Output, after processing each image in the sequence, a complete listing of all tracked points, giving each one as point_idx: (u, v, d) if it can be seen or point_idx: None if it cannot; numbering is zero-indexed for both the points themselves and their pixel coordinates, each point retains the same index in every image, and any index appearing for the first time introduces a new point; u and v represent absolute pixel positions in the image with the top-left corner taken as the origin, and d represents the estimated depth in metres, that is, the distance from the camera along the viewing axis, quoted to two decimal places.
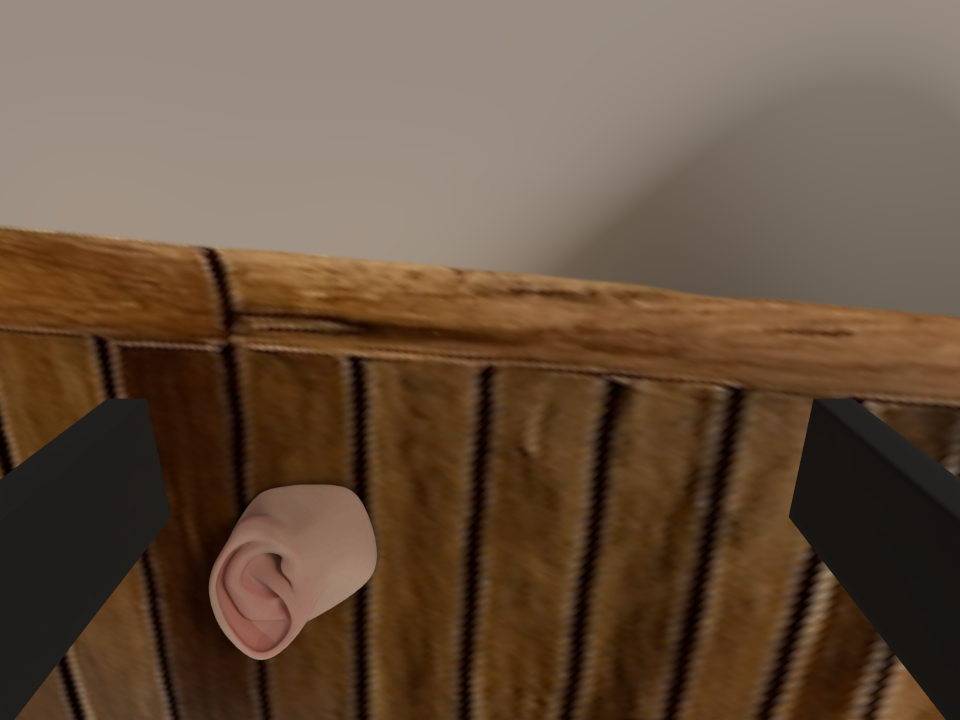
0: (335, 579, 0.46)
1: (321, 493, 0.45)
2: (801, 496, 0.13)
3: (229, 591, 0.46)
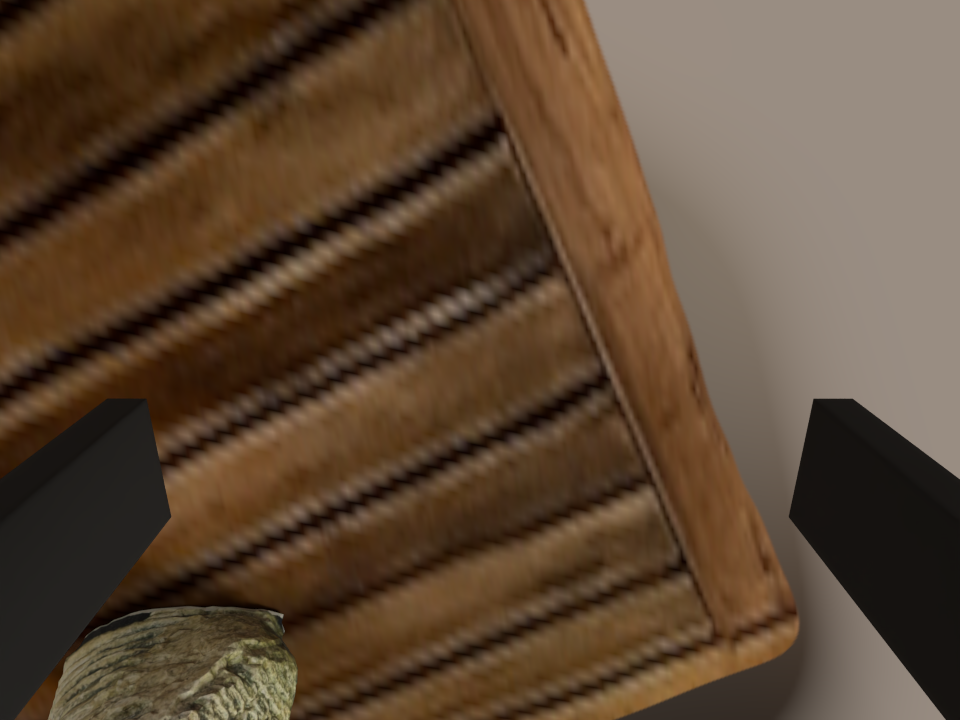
0: None
1: None
2: (801, 496, 0.13)
3: None
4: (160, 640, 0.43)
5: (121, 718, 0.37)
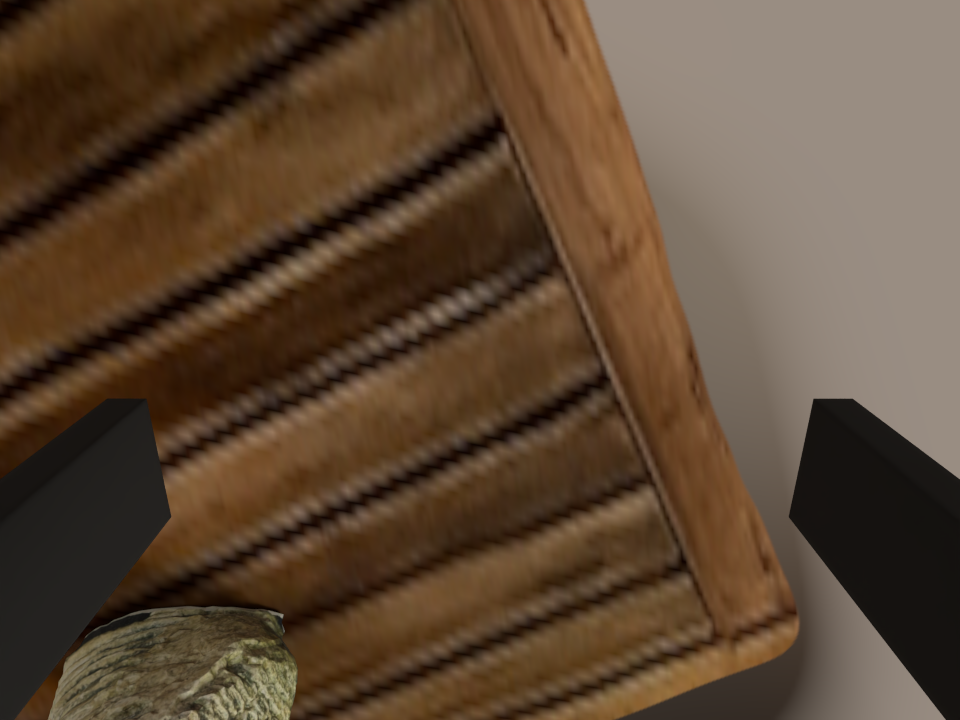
0: None
1: None
2: (801, 496, 0.13)
3: None
4: (160, 640, 0.43)
5: (121, 718, 0.37)
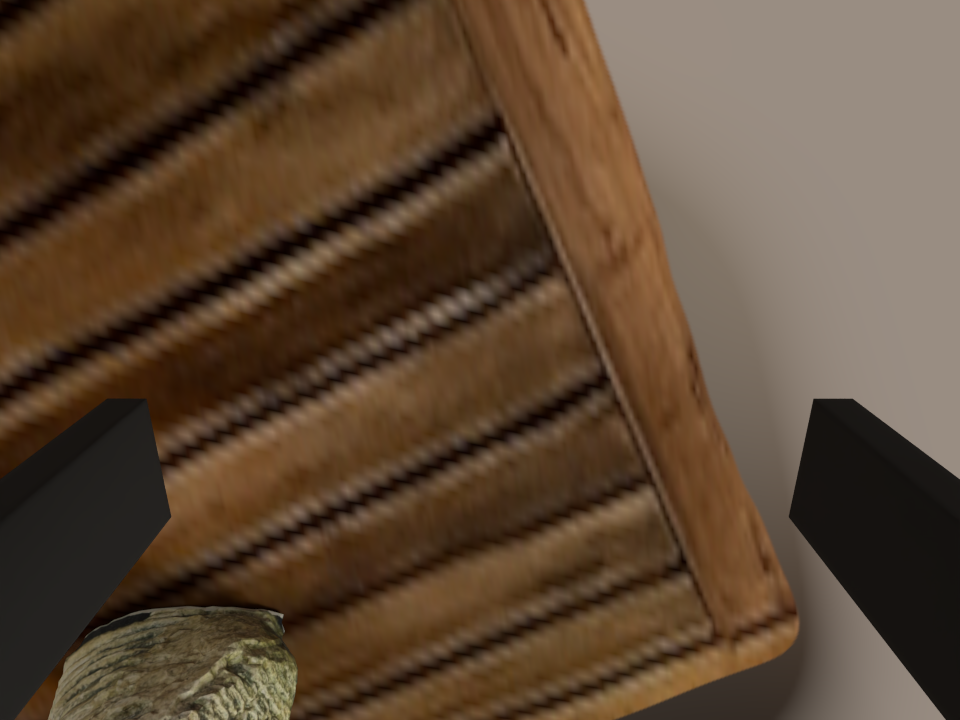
0: None
1: None
2: (801, 496, 0.13)
3: None
4: (160, 640, 0.43)
5: (121, 718, 0.37)
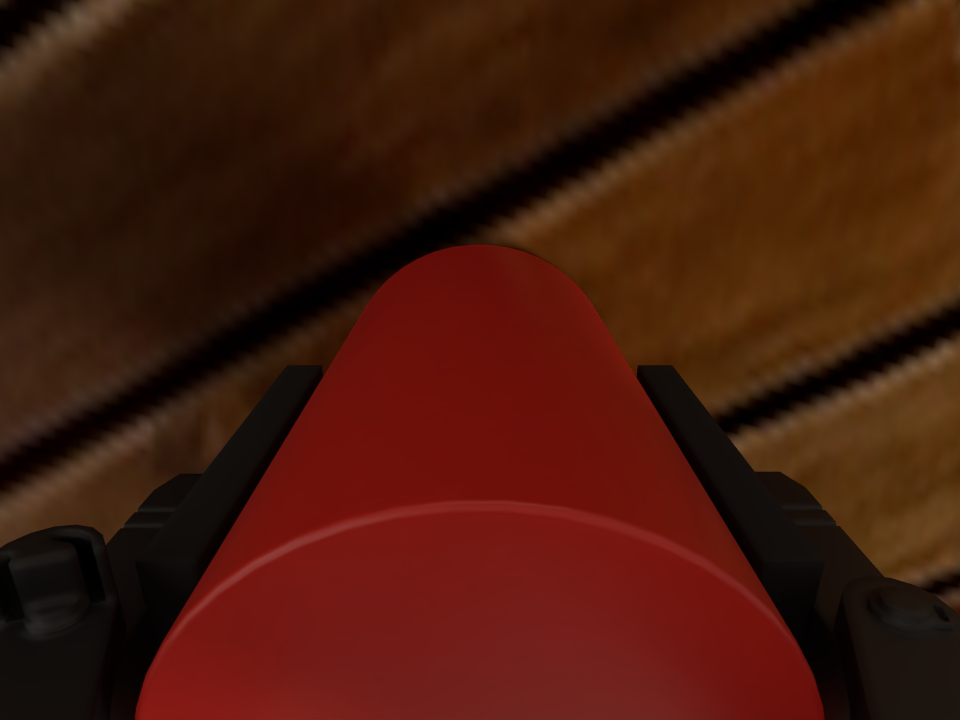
0: None
1: None
2: None
3: None
4: None
5: None
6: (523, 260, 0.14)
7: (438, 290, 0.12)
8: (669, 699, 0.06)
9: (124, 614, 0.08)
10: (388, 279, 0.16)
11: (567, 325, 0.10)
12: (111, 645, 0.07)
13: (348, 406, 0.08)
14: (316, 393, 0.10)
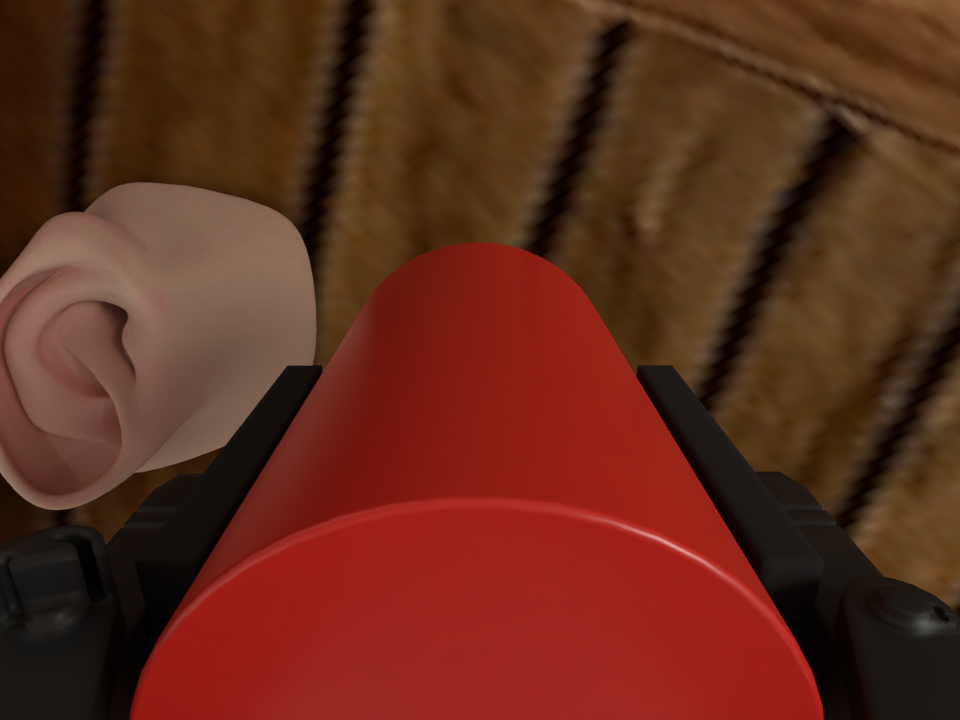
0: (225, 391, 0.25)
1: (234, 211, 0.23)
2: None
3: (9, 363, 0.23)
4: None
5: None
6: (522, 258, 0.14)
7: (436, 288, 0.12)
8: (668, 698, 0.06)
9: (124, 614, 0.08)
10: (387, 278, 0.16)
11: (566, 323, 0.10)
12: (111, 645, 0.07)
13: (346, 403, 0.08)
14: (314, 391, 0.10)
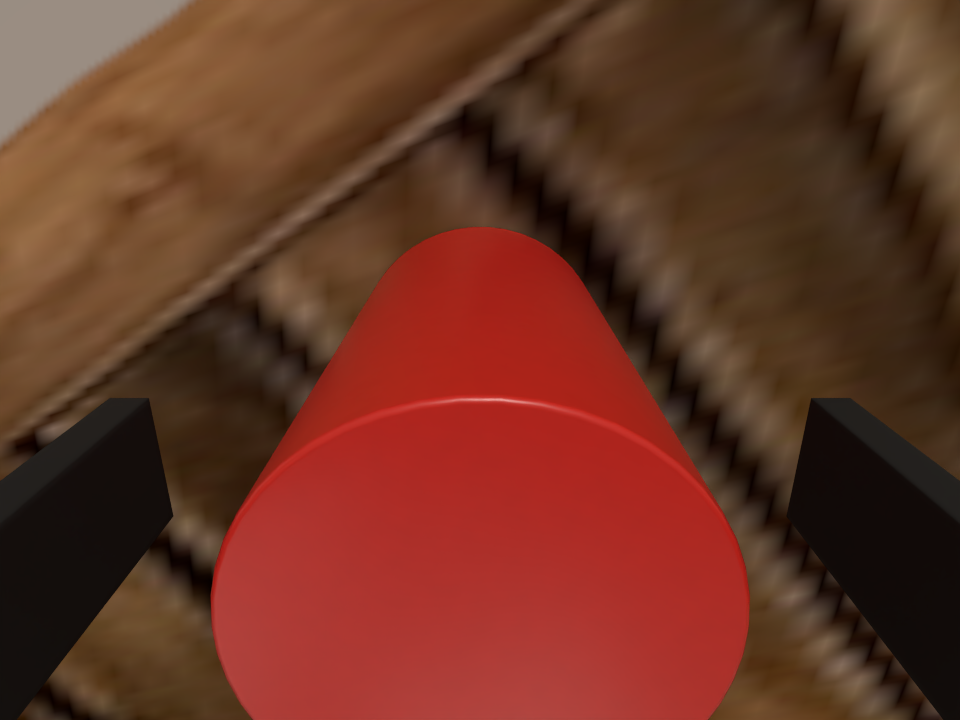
0: None
1: None
2: (798, 495, 0.13)
3: None
4: None
5: None
6: (519, 240, 0.16)
7: (444, 262, 0.13)
8: (625, 558, 0.08)
9: None
10: (398, 258, 0.17)
11: (555, 290, 0.12)
12: None
13: (373, 346, 0.09)
14: (341, 346, 0.12)
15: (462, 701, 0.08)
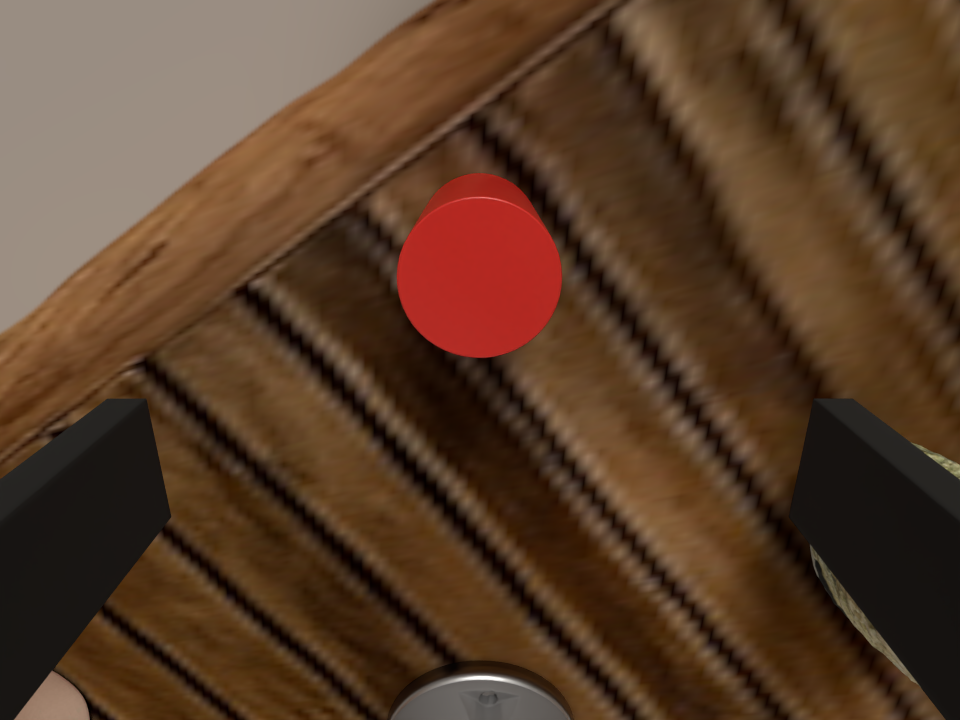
0: None
1: None
2: (800, 496, 0.13)
3: None
4: None
5: None
6: (498, 177, 0.34)
7: (464, 181, 0.32)
8: (522, 249, 0.26)
9: None
10: (439, 189, 0.35)
11: (509, 189, 0.30)
12: None
13: (442, 198, 0.28)
14: (425, 209, 0.30)
15: (473, 305, 0.27)
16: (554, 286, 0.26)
